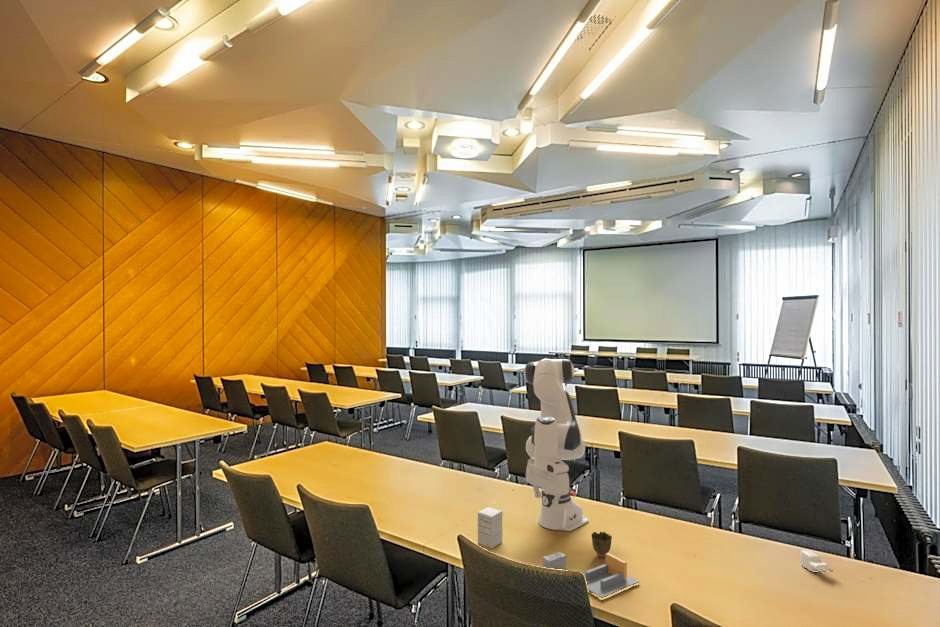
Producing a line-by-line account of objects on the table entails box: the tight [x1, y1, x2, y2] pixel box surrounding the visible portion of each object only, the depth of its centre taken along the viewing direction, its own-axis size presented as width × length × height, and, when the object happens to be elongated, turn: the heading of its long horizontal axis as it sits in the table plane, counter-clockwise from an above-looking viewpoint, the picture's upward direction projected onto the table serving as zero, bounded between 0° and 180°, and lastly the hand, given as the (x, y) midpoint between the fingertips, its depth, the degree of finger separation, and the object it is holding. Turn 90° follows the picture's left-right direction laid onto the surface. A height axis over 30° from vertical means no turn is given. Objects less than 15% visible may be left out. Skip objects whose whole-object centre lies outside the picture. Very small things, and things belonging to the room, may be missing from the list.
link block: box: [542, 551, 567, 570], centre depth 180 cm, size 8×4×5 cm, turn 123°
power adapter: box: [799, 549, 834, 573], centre depth 179 cm, size 11×5×6 cm, turn 6°
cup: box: [591, 531, 613, 559], centre depth 191 cm, size 8×7×8 cm
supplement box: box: [477, 506, 503, 549], centre depth 201 cm, size 7×7×13 cm
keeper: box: [582, 552, 640, 598], centre depth 171 cm, size 18×14×7 cm
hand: (546, 501), depth 183 cm, fingers open, 8 cm apart
